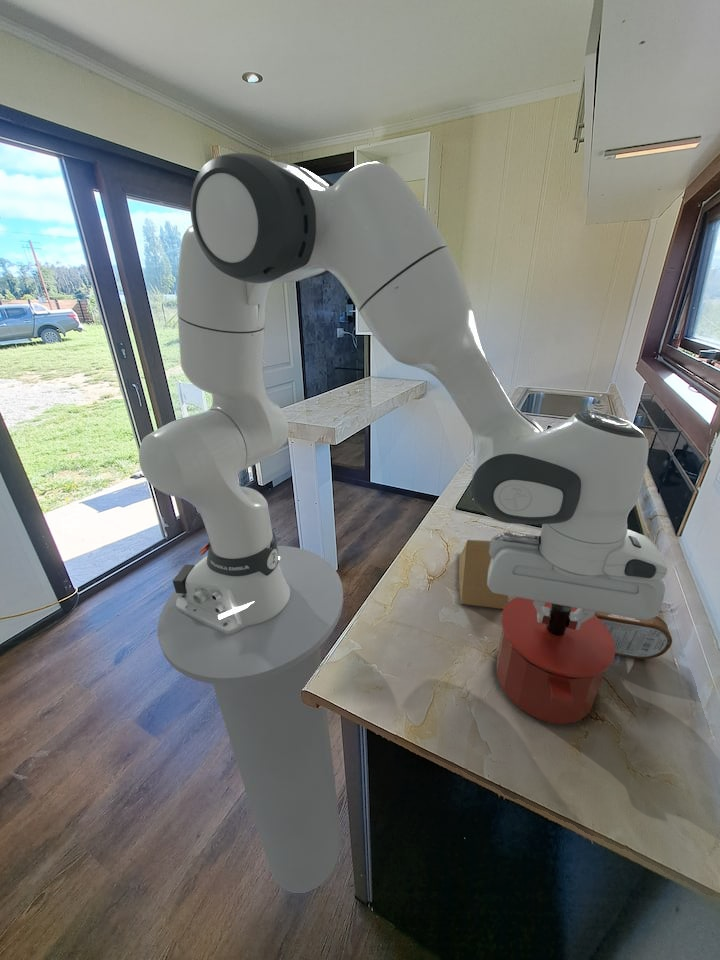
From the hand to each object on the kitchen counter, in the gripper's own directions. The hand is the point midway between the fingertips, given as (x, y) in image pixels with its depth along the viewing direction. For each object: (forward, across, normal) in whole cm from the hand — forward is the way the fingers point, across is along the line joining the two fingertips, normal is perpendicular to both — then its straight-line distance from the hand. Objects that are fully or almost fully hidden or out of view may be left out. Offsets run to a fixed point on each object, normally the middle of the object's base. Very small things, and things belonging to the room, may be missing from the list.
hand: (557, 623), depth 54 cm
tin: (+12, +11, +9) cm, 19 cm away
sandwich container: (+12, -10, +21) cm, 26 cm away
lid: (+2, 0, 0) cm, 2 cm away
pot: (+12, 0, 0) cm, 12 cm away
